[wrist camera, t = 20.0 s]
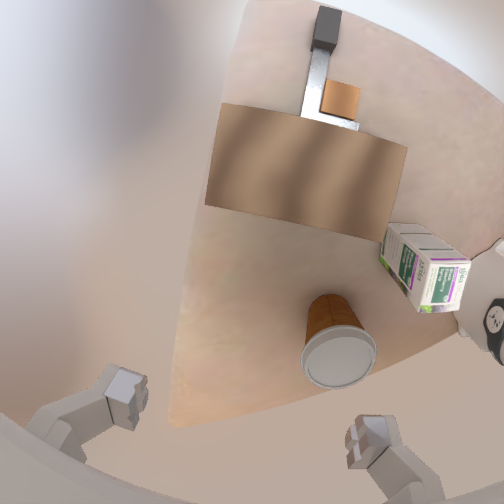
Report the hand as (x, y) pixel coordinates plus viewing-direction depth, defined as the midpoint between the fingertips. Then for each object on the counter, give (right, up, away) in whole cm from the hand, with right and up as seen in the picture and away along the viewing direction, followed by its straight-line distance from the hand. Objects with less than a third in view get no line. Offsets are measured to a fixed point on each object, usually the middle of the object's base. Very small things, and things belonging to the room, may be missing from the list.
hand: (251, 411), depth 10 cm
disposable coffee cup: (+12, -3, +34) cm, 36 cm away
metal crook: (+10, +28, +22) cm, 37 cm away
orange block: (+10, +24, +23) cm, 35 cm away
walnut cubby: (+6, +17, +26) cm, 32 cm away
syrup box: (+21, +7, +29) cm, 36 cm away
